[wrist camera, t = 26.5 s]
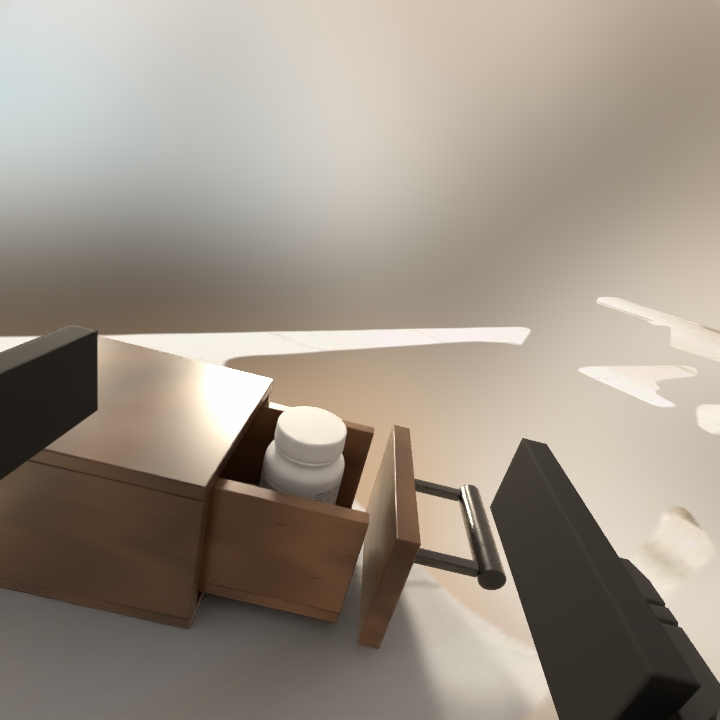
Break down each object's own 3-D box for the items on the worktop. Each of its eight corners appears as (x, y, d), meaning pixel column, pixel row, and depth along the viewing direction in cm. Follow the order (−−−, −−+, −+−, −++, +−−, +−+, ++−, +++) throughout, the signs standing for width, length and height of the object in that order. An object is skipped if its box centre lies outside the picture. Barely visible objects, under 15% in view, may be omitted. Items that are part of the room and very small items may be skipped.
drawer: (452, 528, 32) (487, 447, 29) (481, 672, 22) (538, 572, 19) (210, 471, 31) (222, 382, 28) (132, 593, 21) (136, 477, 19)
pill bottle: (320, 507, 29) (347, 406, 26) (329, 566, 25) (362, 453, 22) (251, 505, 28) (271, 398, 24) (248, 566, 23) (271, 446, 20)
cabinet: (254, 485, 32) (273, 378, 29) (188, 630, 21) (206, 487, 18) (71, 441, 32) (67, 327, 28) (-91, 567, 21) (-131, 408, 17)
